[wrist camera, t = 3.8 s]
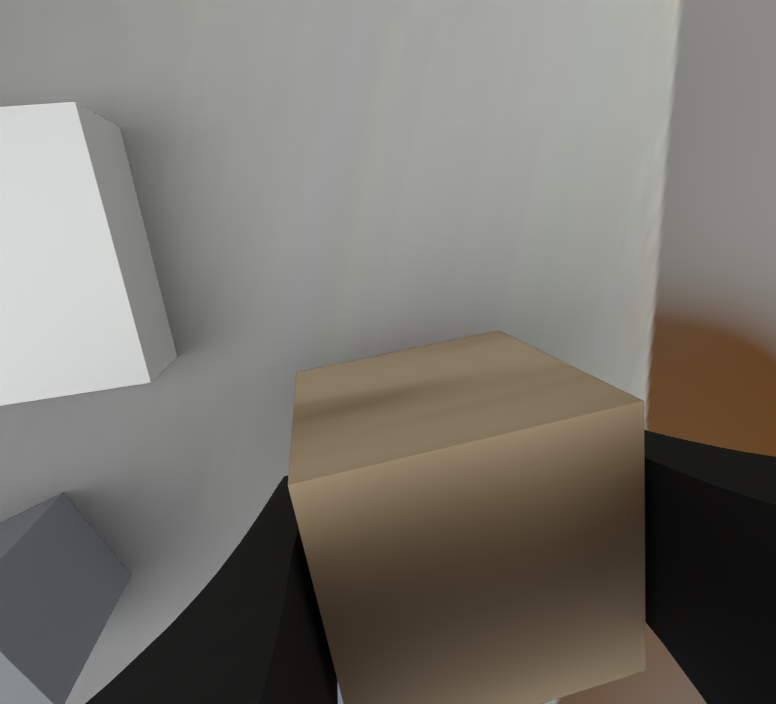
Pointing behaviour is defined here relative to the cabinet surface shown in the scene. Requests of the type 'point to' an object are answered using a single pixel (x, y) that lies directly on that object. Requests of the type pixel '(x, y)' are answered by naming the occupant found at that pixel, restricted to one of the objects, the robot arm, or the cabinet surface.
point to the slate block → (52, 600)
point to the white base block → (73, 260)
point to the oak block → (471, 523)
